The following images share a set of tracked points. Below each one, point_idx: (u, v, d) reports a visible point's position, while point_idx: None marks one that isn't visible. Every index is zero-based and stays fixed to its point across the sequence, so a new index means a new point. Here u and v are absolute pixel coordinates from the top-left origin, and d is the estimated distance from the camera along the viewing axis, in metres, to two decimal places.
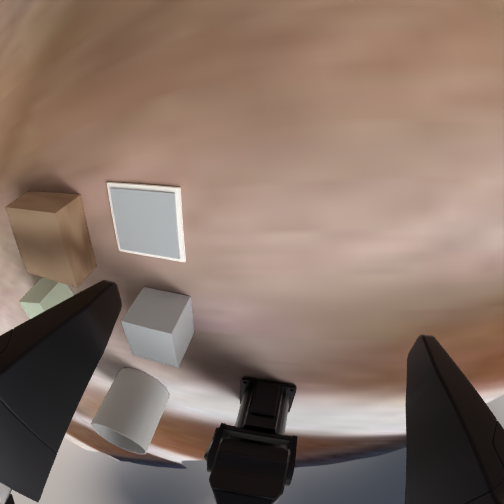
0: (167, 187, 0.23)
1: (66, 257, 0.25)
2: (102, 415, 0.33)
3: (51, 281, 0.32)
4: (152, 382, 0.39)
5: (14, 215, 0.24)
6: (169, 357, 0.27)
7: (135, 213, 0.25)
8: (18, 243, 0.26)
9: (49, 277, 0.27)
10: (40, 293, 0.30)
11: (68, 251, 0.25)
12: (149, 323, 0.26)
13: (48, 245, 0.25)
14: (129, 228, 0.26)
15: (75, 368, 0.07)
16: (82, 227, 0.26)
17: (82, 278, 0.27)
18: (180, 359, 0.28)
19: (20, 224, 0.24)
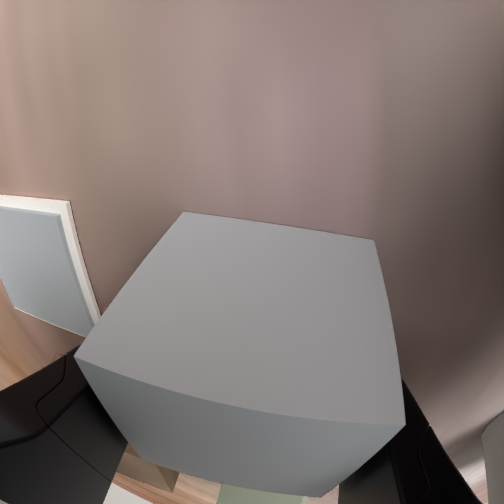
0: None
1: None
2: None
3: None
4: None
5: None
6: (300, 438, 0.04)
7: (21, 281, 0.11)
8: (118, 471, 0.16)
9: (160, 479, 0.14)
10: None
11: None
12: None
13: None
14: (49, 304, 0.12)
15: None
16: None
17: None
18: (374, 383, 0.04)
19: None
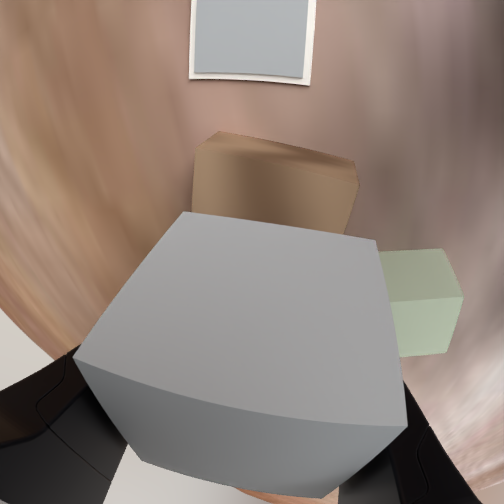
0: None
1: (286, 168, 0.14)
2: None
3: None
4: None
5: None
6: (301, 440, 0.04)
7: (232, 34, 0.14)
8: None
9: None
10: None
11: (279, 161, 0.14)
12: None
13: (260, 204, 0.16)
14: (259, 49, 0.14)
15: None
16: (268, 143, 0.17)
17: (351, 175, 0.15)
18: (376, 384, 0.04)
19: None
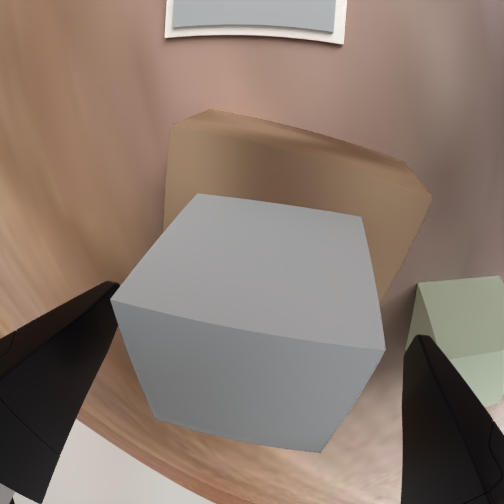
0: None
1: (322, 163, 0.08)
2: None
3: (416, 318, 0.14)
4: None
5: None
6: (299, 365, 0.05)
7: None
8: None
9: None
10: None
11: (309, 152, 0.09)
12: None
13: None
14: None
15: (78, 370, 0.07)
16: (284, 128, 0.11)
17: (415, 182, 0.09)
18: (358, 317, 0.05)
19: None
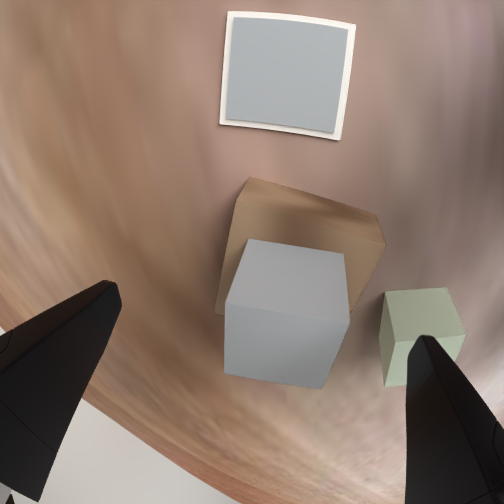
0: (226, 27, 0.14)
1: (323, 227, 0.15)
2: None
3: (384, 316, 0.21)
4: None
5: None
6: (312, 330, 0.12)
7: (267, 82, 0.15)
8: None
9: (352, 300, 0.17)
10: (388, 339, 0.19)
11: (315, 219, 0.16)
12: None
13: None
14: (294, 101, 0.15)
15: (75, 368, 0.07)
16: (299, 195, 0.18)
17: (377, 234, 0.16)
18: (338, 308, 0.12)
19: None
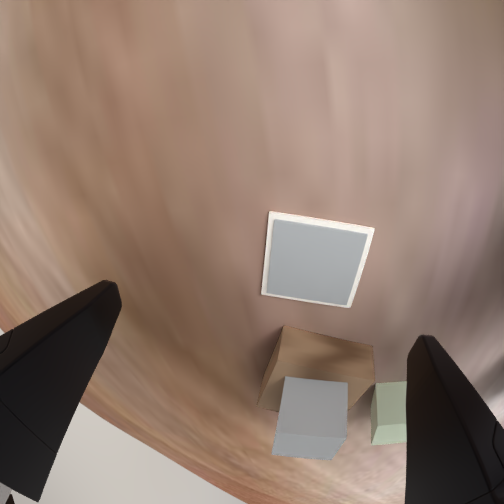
0: (268, 226, 0.20)
1: (334, 373, 0.22)
2: None
3: (374, 398, 0.28)
4: None
5: (267, 402, 0.26)
6: (325, 441, 0.19)
7: (299, 272, 0.22)
8: None
9: (351, 403, 0.24)
10: (375, 418, 0.26)
11: (329, 368, 0.22)
12: None
13: None
14: (319, 285, 0.22)
15: (75, 368, 0.07)
16: (319, 340, 0.24)
17: (371, 369, 0.23)
18: (340, 429, 0.19)
19: (280, 401, 0.25)
